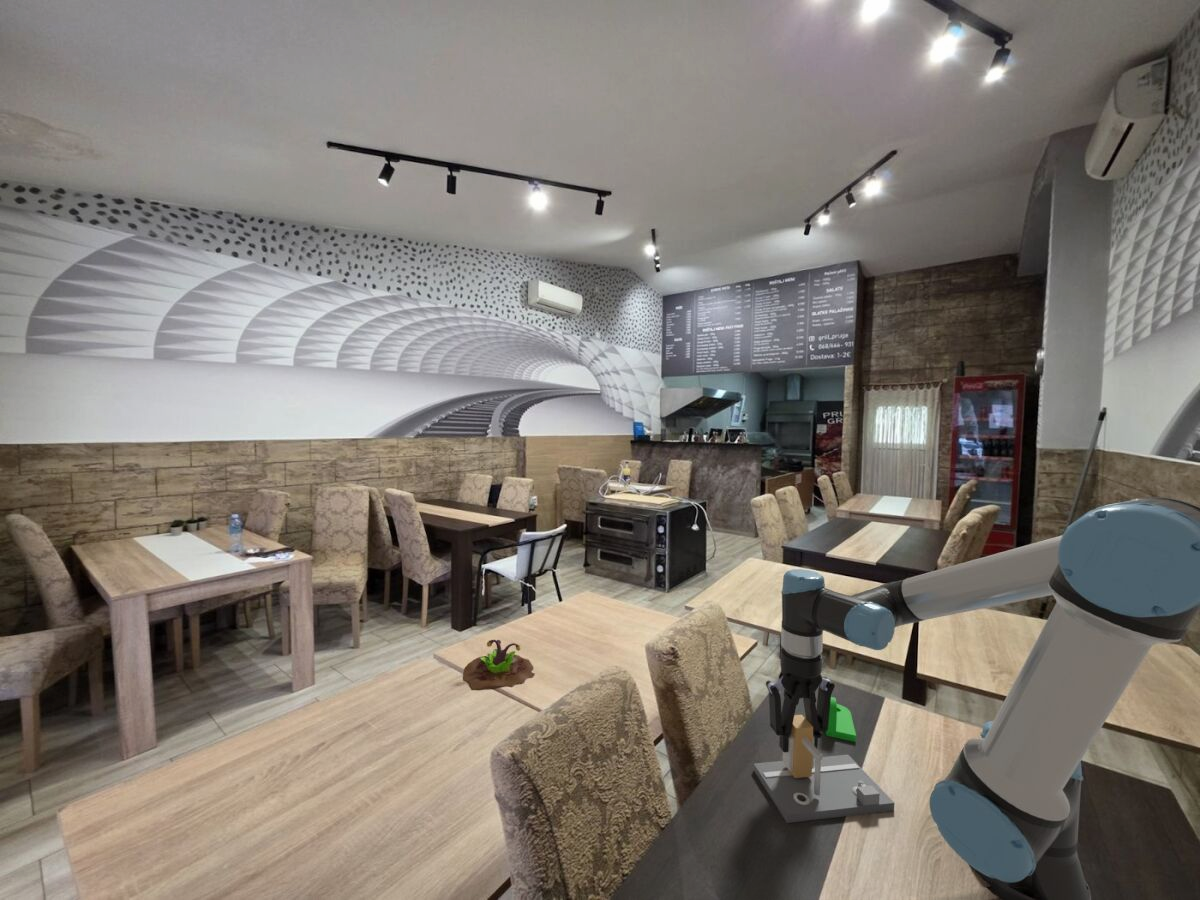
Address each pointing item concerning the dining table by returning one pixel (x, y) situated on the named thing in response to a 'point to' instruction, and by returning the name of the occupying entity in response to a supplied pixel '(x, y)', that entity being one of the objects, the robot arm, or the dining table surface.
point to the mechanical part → (840, 722)
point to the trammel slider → (805, 752)
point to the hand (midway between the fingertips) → (797, 764)
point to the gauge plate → (823, 790)
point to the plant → (497, 669)
